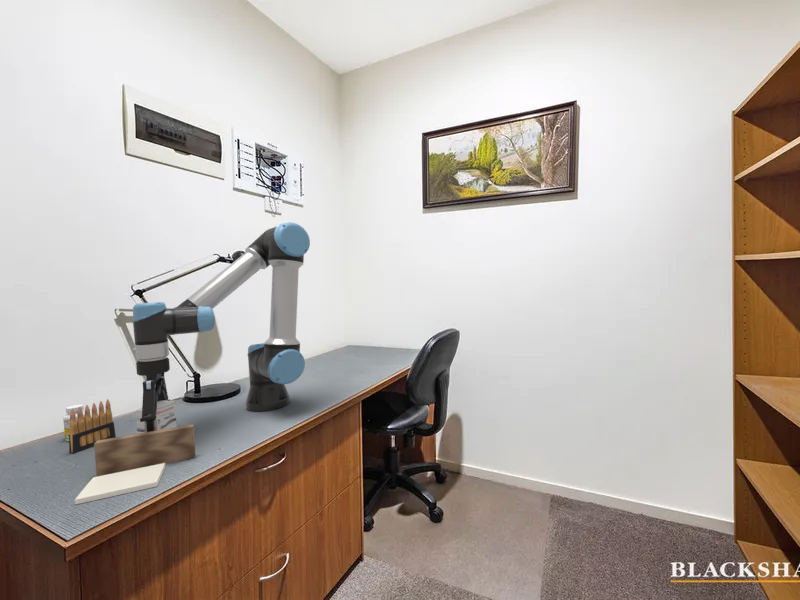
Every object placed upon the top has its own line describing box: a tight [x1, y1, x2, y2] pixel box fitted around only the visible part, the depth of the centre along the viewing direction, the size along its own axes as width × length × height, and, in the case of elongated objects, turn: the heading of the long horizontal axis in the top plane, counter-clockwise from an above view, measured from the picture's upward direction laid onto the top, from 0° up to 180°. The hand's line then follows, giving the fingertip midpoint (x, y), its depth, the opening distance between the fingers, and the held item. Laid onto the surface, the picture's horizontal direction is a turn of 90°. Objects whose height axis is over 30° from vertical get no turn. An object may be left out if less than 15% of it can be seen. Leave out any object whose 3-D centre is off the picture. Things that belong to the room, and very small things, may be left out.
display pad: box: [74, 463, 166, 506], centre depth 81 cm, size 14×10×1 cm
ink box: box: [135, 399, 178, 434], centre depth 100 cm, size 9×5×12 cm, turn 168°
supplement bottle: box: [63, 404, 85, 442], centre depth 111 cm, size 5×5×10 cm
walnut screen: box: [93, 424, 197, 477], centre depth 89 cm, size 20×2×8 cm, turn 114°
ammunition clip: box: [68, 398, 117, 455], centre depth 104 cm, size 11×2×12 cm, turn 159°
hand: (158, 435), depth 100 cm, fingers open, 13 cm apart
